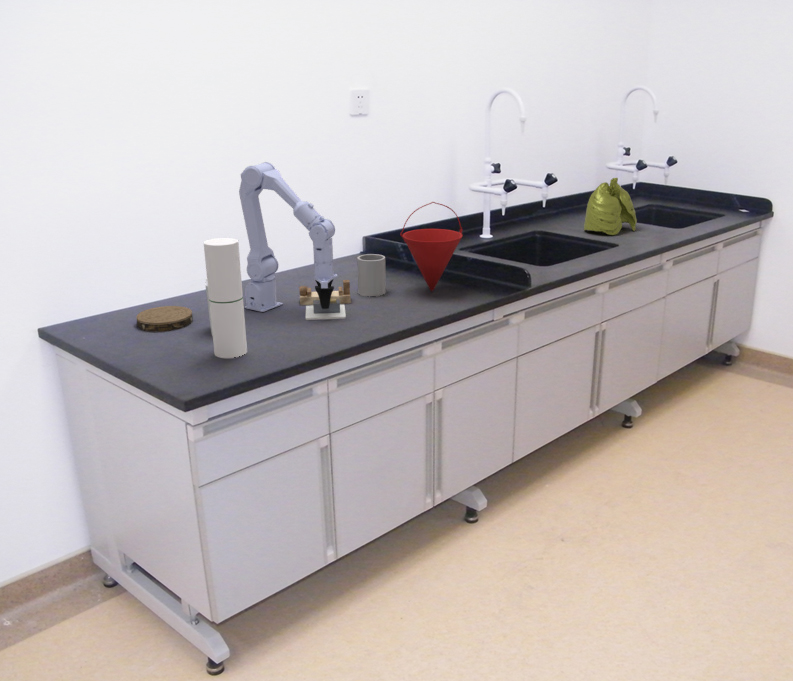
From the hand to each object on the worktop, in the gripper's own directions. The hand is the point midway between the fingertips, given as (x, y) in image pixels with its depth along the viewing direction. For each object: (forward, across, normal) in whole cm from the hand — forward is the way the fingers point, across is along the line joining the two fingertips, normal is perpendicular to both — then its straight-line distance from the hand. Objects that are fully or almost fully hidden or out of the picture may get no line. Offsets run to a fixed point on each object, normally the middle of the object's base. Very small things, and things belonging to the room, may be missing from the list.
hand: (325, 304), depth 231 cm
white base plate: (+3, 0, 0) cm, 3 cm away
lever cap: (+2, 0, 0) cm, 2 cm away
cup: (+3, +20, -16) cm, 25 cm away
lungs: (+3, +102, -127) cm, 163 cm away
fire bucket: (+3, +19, -36) cm, 40 cm away
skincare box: (+3, -13, +30) cm, 33 cm away
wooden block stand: (+3, +12, 0) cm, 12 cm away
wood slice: (+3, -4, +47) cm, 48 cm away
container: (+3, -30, +25) cm, 40 cm away
